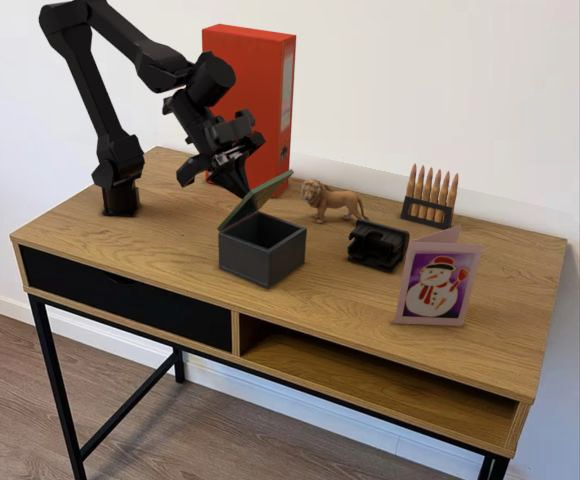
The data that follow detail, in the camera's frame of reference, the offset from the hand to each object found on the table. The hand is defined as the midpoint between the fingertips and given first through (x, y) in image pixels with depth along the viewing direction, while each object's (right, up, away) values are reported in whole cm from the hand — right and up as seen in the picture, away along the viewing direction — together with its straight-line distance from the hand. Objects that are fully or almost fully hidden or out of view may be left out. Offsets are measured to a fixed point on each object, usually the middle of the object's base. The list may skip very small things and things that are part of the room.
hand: (249, 200), depth 111 cm
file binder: (-3, +12, +35) cm, 37 cm away
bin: (+2, -11, +6) cm, 13 cm away
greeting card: (+30, -20, -4) cm, 36 cm away
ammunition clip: (+36, +1, +24) cm, 43 cm away
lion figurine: (+16, +1, +22) cm, 27 cm away
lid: (+1, -1, -1) cm, 2 cm away
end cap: (+23, -9, +10) cm, 27 cm away
